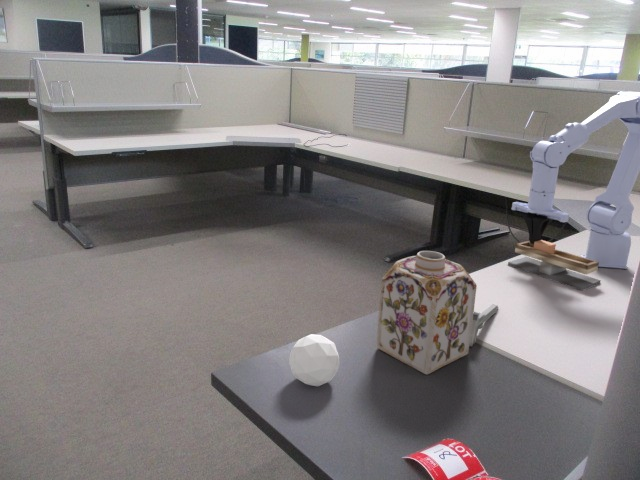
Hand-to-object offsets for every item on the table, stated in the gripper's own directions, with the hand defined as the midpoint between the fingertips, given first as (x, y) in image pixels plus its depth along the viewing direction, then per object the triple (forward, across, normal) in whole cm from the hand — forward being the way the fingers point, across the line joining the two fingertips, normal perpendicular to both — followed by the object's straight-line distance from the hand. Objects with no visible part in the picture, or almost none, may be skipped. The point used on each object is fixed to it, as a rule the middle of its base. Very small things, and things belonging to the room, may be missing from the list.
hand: (534, 243), depth 135 cm
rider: (+2, +3, 0) cm, 3 cm away
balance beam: (+6, +6, 0) cm, 9 cm away
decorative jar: (+7, +16, -56) cm, 59 cm away
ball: (+7, +13, -78) cm, 79 cm away
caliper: (+7, +15, -39) cm, 42 cm away
